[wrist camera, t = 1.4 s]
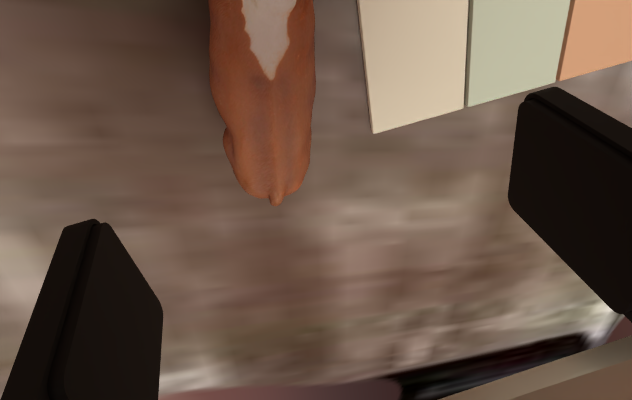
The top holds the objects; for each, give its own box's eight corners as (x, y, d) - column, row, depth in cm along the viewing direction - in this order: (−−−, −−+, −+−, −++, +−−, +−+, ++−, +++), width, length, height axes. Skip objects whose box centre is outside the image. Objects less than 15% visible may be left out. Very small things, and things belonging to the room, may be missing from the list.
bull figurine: (313, -159, 17) (387, -173, 11) (285, 140, 25) (319, 232, 19) (199, -180, 16) (208, -209, 10) (207, 140, 24) (215, 238, 18)
